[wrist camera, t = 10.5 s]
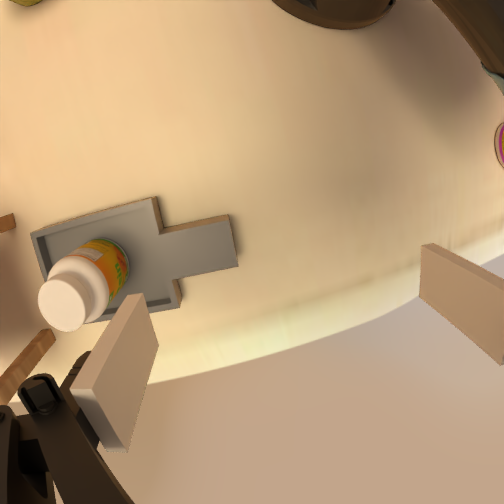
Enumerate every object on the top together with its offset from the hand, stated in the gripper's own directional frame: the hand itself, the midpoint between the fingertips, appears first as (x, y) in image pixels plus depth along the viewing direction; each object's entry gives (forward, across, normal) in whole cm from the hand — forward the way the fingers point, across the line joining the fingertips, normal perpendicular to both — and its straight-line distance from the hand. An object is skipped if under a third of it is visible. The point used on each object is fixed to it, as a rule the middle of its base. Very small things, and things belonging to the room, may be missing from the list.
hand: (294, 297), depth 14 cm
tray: (+16, +12, +1) cm, 20 cm away
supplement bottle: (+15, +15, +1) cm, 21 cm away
